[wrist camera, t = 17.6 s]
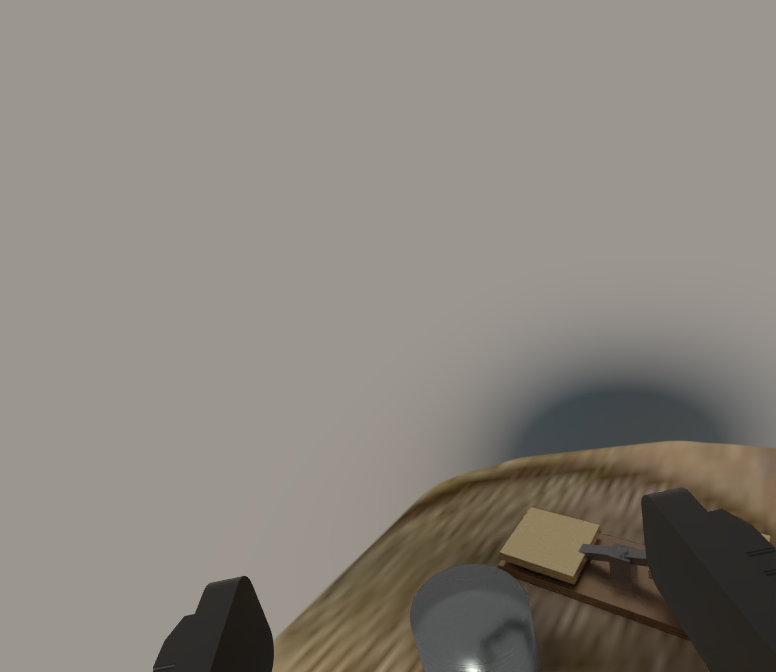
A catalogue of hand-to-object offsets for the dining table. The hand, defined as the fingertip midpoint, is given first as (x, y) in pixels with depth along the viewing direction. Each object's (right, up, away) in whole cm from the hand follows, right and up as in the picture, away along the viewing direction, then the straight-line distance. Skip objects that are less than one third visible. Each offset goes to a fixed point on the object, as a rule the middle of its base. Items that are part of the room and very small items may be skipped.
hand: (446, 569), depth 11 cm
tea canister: (+6, -21, +18) cm, 29 cm away
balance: (+18, -15, +32) cm, 39 cm away
